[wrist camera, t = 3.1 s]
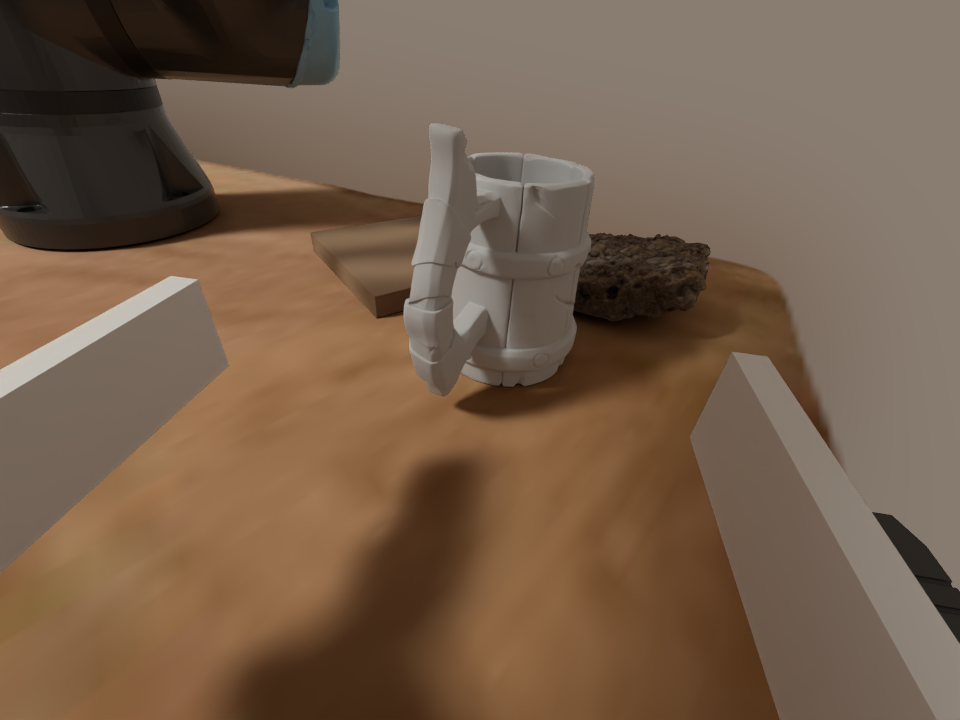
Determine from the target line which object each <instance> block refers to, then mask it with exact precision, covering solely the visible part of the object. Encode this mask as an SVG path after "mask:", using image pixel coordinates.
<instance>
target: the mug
mask: <svg viewBox="0 0 960 720" xmlns="http://www.w3.org/2000/svg"><path fill="white" fill-rule="evenodd" d="M429 136H430V146H431V168H430V176H429V188H428V198H427V199H426V200H425V202H424V205H423V212H422V217H421V222H420V228H419V235H418V241H417V245H416V249H415V252H414V256H413V259H412V263H411V265H412V266H414V273H413V279H412V285H411V292H410V299H409V298H408V299H406V301H405V304H404V324H405V328H406V331H407V335H408V336H409V337H410V342H409V351H410V354H411V358H412V362H413V365H414V368H415V371H416V373H417V375H418V376H419V377H421V378H422V379H423V380H424V381H426V383H427V385H428V387H429V389H430V391H431V392H432V393H434V394H437V395H440V396H446V395H448V394H449V393H450V391H451V389H452V388H453V387H454V385H455V384H456V382H457V380H458V378H459V375H460V373H462V374H464V375H465V376H467V377H469V378H471V379H473V380H475V381H478V382H482V383H486V384H490V385H494V386H499V385H500V384H501V382H502V385H503V386H505V387H514V385H515V384H517V383H519V384H522V385H523V386H528V385H532V384H536V383H539V382H542V381H544V380H546V379H548V378H550V377H551V376H553V375H554V374H555V373H556V372H557V370H558V366H560V365H562V364H563V362H564V358H565V356H566V355H567V354H568V353H569V351H570V350H571V348H572V346H573V343H574V340H575V335H576V332H577V325H576V323H575V319H574V317H573V309H574V303H575V296H576V290H577V283H578V277H579V272H580V267H581V266H582V265H583V264H584V262H585V260H586V259H587V255H588V253H589V252H590V250H591V238H590V237H589V234H588V232H587V225H588V219H589V213H590V207H591V201H592V196H593V189H594V174H593V173H592V171H591V170H590V169H589V168H587V167H586V166H583V165H579V164H578V163H575V162H571V161H566V160H559V159H554V158H549V157H544V156H540V155H535V154H526V155H525V156H523V154H521V153H477V154H473V155H471V156H467V155H466V154H465V148H466V144H467V140H466V137H465V134H464V132H463V130H461V129H458V128H454V127H451V126H448V125H442V124H435V123H432V124H431V125H430V127H429Z"/></svg>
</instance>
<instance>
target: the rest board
mask: <svg viewBox="0 0 960 720" xmlns="http://www.w3.org/2000/svg"><path fill="white" fill-rule="evenodd" d="M421 217H422V215H420V216H414V217H408V218H401V219H395V220H389V221H382V222H376V223H369V224H363V225H357V226H350V227H344V228H338V229H331V230H325V231H318V232H312V233H311V238H312V243H313V249H314V252H315V253H316V254H317V255H318V256H319V257H320V258H321V259H322V260H323V261H324V262H325V263H326V264H327V266H328V267H329V268H330V269H331V270H332V271H333V272H334V273H335V274H336V275H337V276H338V277H339V278H340V279H341V280H342V281H343V283H344V284H345V285H346V286H347V287H348V288H349V289H350V290H351V291H352V292H353V293H354V294H355V295H356V296H357V297H358V299H359V300H360V301H361V302H362V303H363V304H364V305H365V306H366V307H367V308H368V309H369V310H370V311H371V312H372V313H373V315H374V316H375V317H376V318H379V317H382V316H386V315H390V314H393V313H397V312H401V311H404V304H405V301H406V299H408V298H409V299H410V292H411V285H412V279H413V273H414V266H412V265H411V263H412V259H413V256H414V252H415V249H416V245H417V241H418V235H419V228H420V222H421Z"/></svg>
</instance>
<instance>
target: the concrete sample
mask: <svg viewBox="0 0 960 720" xmlns="http://www.w3.org/2000/svg"><path fill="white" fill-rule="evenodd" d="M589 237H590V238H591V250H590V252H589V253H588V255H587V259H586V260H585V262H584V264H583V265H582V266H581V267H580V272H579V277H578V283H577V290H576V296H575V303H574V309H573V311H577V312H581V313H585V314H588V315H591V316H594V317H602V318H605V319H607V320H609V321H618V320H622V319H625V318H632V317H633V316H635V315H647V316H649V317H650V318H652V317H660V316H661V315H662V313H663V312H671V311H674V310H677V309H679V310H683V311H685V310H687V309H689V308H691V307H692V306H693V305H694V304H695V302H696V300H697V297H698V294H699V292H700V291H701V290H704V289H706V283H705V279H706V275H707V272H708V267H709V265H708V264H709V262H708V261H707V257H708V256H709V255H710V248H709V247H708V245H706V244H701V243H685V241H684V240H682V239H680V238H678V237H669V236H668V235H666V236H663V237H661V236H660V234H658V235H656V236H655V237H654V238H649V237H648V238H641V237H637V236H633V235H631V234H629V235H628V236H625V235H624V236H623V235H620V236H619V235H618V236H613V235H612V234H605V233H600V234H596V235H593V234H589Z"/></svg>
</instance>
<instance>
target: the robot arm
mask: <svg viewBox="0 0 960 720" xmlns="http://www.w3.org/2000/svg"><path fill="white" fill-rule="evenodd" d="M338 5H339V4H338V0H0V228H1V229H2V231H3V233H4V234H5V236H6V237H7V238H8V239H9V240H11V241H13V242H15V243H18V244H21V245H25V246H31V247H37V248H47V249H92V248H105V247H115V246H123V245H130V244H136V243H142V242H147V241H152V240H157V239H161V238H165V237H169V236H173V235H177V234H180V233H183V232H186V231H189V230H192V229H194V228H197V227H199V226H201V225H203V224H205V223H207V222H208V221H210V220H211V219H213V218H214V217H215V216H216V215H217V214H218V212H219V205H218V202H217V199H216V195H215V192H214V189H213V186H212V184H211V182H210V180H209V179H208V177H207V176H206V174H205V173H204V171H203V170H202V168H201V167H200V165H199V164H198V162H197V161H196V159H195V158H194V156H193V155H192V153H191V152H190V150H189V149H188V147H187V146H186V144H185V143H184V141H183V140H182V138H181V137H180V135H179V134H178V132H177V131H176V129H175V128H174V126H173V125H172V123H171V122H170V120H169V118H168V116H167V114H166V111H165V109H164V106H163V103H162V100H161V97H160V94H159V91H158V88H157V85H156V81H155V79H156V78H157V79H182V80H197V81H213V82H227V83H242V84H257V85H272V86H286V87H287V88H295V87H297V86H298V85H326V84H329V83H330V82H332V81H333V80H334V79H335V77H336V76H337V74H338V71H339V66H340V26H339V6H338ZM228 366H229V363H228V360H227V358H226V355H225V352H224V349H223V347H222V344H221V341H220V339H219V336H218V333H217V330H216V328H215V325H214V322H213V319H212V317H211V314H210V311H209V308H208V306H207V303H206V300H205V297H204V295H203V292H202V289H201V287H200V284H199V281H198V280H197V279H190V278H182V277H175V276H170V277H168V278H166V279H164V280H163V281H161V282H159V283H157V284H155V285H154V286H152V287H150V288H148V289H146V290H144V291H143V292H141V293H139V294H137V295H135V296H134V297H132V298H130V299H128V300H126V301H124V302H123V303H121V304H119V305H117V306H115V307H114V308H112V309H110V310H108V311H106V312H104V313H103V314H101V315H99V316H97V317H95V318H93V319H92V320H90V321H88V322H86V323H84V324H83V325H81V326H79V327H77V328H75V329H73V330H72V331H70V332H68V333H66V334H64V335H63V336H61V337H59V338H57V339H55V340H53V341H52V342H50V343H48V344H46V345H44V346H43V347H41V348H39V349H37V350H35V351H33V352H32V353H30V354H28V355H26V356H24V357H23V358H21V359H19V360H17V361H15V362H13V363H12V364H10V365H8V366H6V367H4V368H2V369H1V370H0V573H1V572H2V571H3V570H4V569H6V568H7V567H8V566H9V565H10V564H11V563H12V562H13V561H14V560H16V559H17V558H18V557H19V556H20V555H21V554H22V553H23V552H24V551H25V550H27V549H28V548H29V547H30V546H31V545H32V544H33V543H34V542H35V541H36V540H38V539H39V538H40V537H41V536H42V535H43V534H44V533H45V532H46V531H47V530H49V529H50V528H51V527H52V526H53V525H54V524H55V523H56V522H57V521H58V520H60V519H61V518H62V517H63V516H64V515H65V514H66V513H67V512H68V511H69V510H71V509H72V508H73V507H74V506H75V505H76V504H77V503H78V502H79V501H80V500H82V499H83V498H84V497H85V496H86V495H87V494H88V493H89V492H90V491H92V490H93V489H94V488H95V487H96V486H97V485H98V484H99V483H100V482H101V481H103V480H104V479H105V478H106V477H107V476H108V475H109V474H110V473H111V472H112V471H114V470H115V469H116V468H117V467H118V466H119V465H120V464H121V463H122V462H123V461H125V460H126V459H127V458H128V457H129V456H130V455H131V454H132V453H133V452H134V451H136V450H137V449H138V448H139V447H140V446H141V445H142V444H143V443H144V442H145V441H147V440H148V439H149V438H150V437H151V436H152V435H153V434H154V433H155V432H157V431H158V430H159V429H160V428H161V427H162V426H163V425H164V424H165V423H166V422H168V421H169V420H170V419H171V418H172V417H173V416H174V415H175V414H176V413H177V412H179V411H180V410H181V409H182V408H183V407H184V406H185V405H186V404H187V403H188V402H190V401H191V400H192V399H193V398H194V397H195V396H196V395H197V394H198V393H199V392H201V391H202V390H203V389H204V388H205V387H206V386H207V385H208V384H209V383H210V382H212V381H213V380H214V379H215V378H216V377H217V376H218V375H219V374H220V373H221V372H223V371H224V370H225V369H226V368H227V367H228ZM690 440H691V444H692V447H693V450H694V453H695V456H696V459H697V462H698V465H699V469H700V472H701V475H702V478H703V481H704V484H705V487H706V491H707V494H708V497H709V500H710V503H711V506H712V509H713V513H714V516H715V519H716V522H717V525H718V528H719V531H720V534H721V538H722V541H723V544H724V547H725V550H726V553H727V556H728V560H729V563H730V566H731V569H732V572H733V575H734V578H735V581H736V585H737V588H738V591H739V594H740V597H741V600H742V603H743V607H744V610H745V613H746V616H747V619H748V622H749V625H750V628H751V632H752V635H753V638H754V641H755V644H756V647H757V650H758V654H759V657H760V660H761V663H762V666H763V669H764V672H765V676H766V679H767V682H768V685H769V688H770V691H771V694H772V697H773V701H774V704H775V707H776V710H777V713H778V716H779V719H780V720H960V591H959V590H958V589H957V588H953V587H952V585H951V582H952V581H951V579H950V578H949V576H948V575H947V574H946V572H945V571H944V570H943V568H942V567H941V566H940V564H939V563H938V561H937V560H936V559H935V557H934V556H933V555H932V553H931V552H930V551H929V549H928V548H927V546H925V545H924V544H923V543H922V542H921V541H920V540H919V539H918V538H917V537H915V536H914V535H913V534H912V533H911V532H910V531H909V530H908V529H906V528H905V527H904V526H903V525H902V524H901V523H900V522H899V521H898V520H896V519H895V518H894V517H893V516H892V515H887V514H881V513H874V512H871V510H870V509H869V507H868V506H867V505H866V503H865V501H864V500H863V498H862V497H861V495H860V494H859V492H858V491H857V489H856V488H855V486H854V485H853V483H852V482H851V480H850V479H849V477H848V476H847V474H846V473H845V471H844V470H843V468H842V467H841V465H840V464H839V462H838V461H837V459H836V458H835V456H834V455H833V453H832V452H831V450H830V449H829V447H828V446H827V444H826V443H825V441H824V440H823V438H822V437H821V435H820V434H819V432H818V431H817V429H816V428H815V426H814V425H813V423H812V422H811V420H810V419H809V417H808V416H807V414H806V413H805V411H804V410H803V408H802V407H801V405H800V404H799V402H798V401H797V399H796V398H795V396H794V395H793V393H792V392H791V390H790V389H789V387H788V386H787V384H786V383H785V381H784V380H783V378H782V377H781V375H780V374H779V372H778V371H777V369H776V368H775V366H774V365H773V363H772V362H771V360H770V359H769V357H768V356H760V355H753V354H745V353H738V352H732V353H731V355H730V357H729V359H728V361H727V363H726V365H725V367H724V369H723V371H722V373H721V375H720V377H719V379H718V381H717V383H716V385H715V387H714V389H713V391H712V393H711V395H710V397H709V399H708V401H707V403H706V405H705V407H704V409H703V411H702V413H701V415H700V417H699V419H698V421H697V423H696V425H695V427H694V429H693V431H692V433H691V435H690Z"/></svg>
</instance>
